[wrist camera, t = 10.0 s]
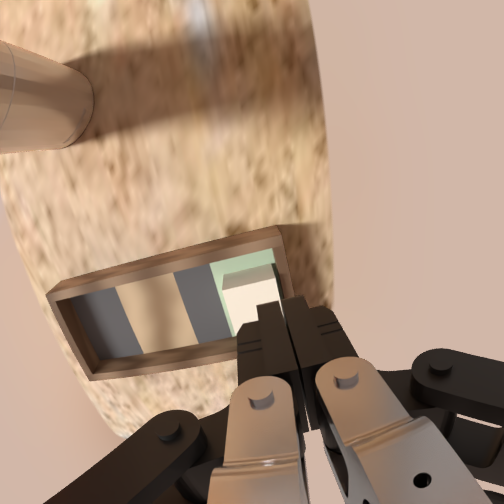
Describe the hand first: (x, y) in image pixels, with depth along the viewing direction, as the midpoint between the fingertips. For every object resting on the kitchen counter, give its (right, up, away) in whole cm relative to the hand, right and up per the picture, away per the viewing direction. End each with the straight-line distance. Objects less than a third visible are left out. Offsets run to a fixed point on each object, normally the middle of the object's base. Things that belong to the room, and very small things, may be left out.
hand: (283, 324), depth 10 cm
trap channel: (-10, -4, +25) cm, 27 cm away
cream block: (-1, -2, +24) cm, 24 cm away
